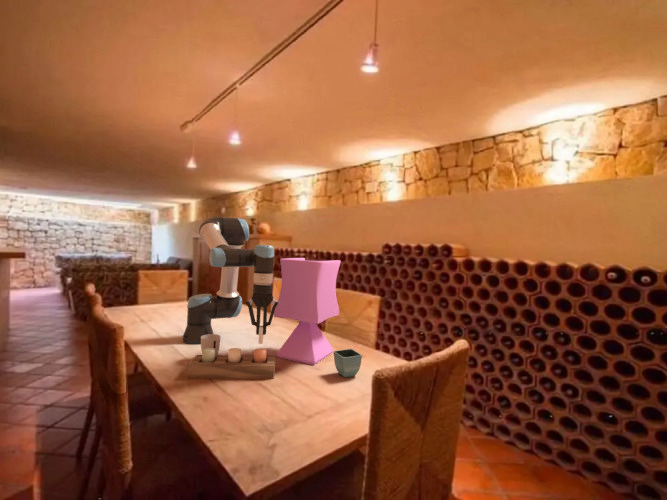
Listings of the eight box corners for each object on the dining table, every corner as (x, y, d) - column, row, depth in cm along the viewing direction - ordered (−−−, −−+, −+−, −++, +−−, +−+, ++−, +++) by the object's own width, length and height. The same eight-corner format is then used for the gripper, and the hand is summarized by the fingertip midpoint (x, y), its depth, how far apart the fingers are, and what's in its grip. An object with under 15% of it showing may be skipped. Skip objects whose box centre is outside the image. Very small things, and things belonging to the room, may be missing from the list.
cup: (213, 363, 142) (214, 340, 142) (195, 361, 144) (196, 338, 144) (223, 357, 150) (224, 335, 150) (206, 355, 152) (207, 333, 152)
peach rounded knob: (229, 360, 136) (229, 348, 136) (241, 360, 136) (241, 348, 136) (226, 364, 131) (227, 351, 131) (239, 364, 132) (239, 351, 131)
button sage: (203, 360, 135) (204, 347, 135) (215, 360, 135) (216, 347, 135) (200, 364, 130) (200, 351, 130) (212, 364, 130) (213, 351, 130)
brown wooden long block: (196, 366, 138) (197, 354, 138) (275, 367, 141) (276, 355, 141) (186, 378, 126) (187, 365, 126) (273, 378, 129) (274, 365, 129)
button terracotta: (254, 360, 137) (255, 348, 137) (266, 360, 137) (267, 348, 137) (252, 364, 132) (253, 352, 132) (265, 364, 133) (265, 352, 133)
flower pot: (342, 380, 131) (343, 357, 130) (332, 372, 138) (333, 350, 138) (361, 377, 135) (362, 355, 134) (350, 369, 142) (351, 348, 142)
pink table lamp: (337, 352, 164) (341, 260, 163) (315, 366, 144) (320, 261, 143) (297, 345, 174) (301, 257, 173) (272, 357, 153) (276, 258, 153)
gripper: (244, 284, 130) (242, 345, 130) (279, 285, 131) (276, 345, 131) (247, 282, 137) (245, 339, 138) (280, 283, 139) (277, 340, 139)
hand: (260, 342), depth 135 cm, fingers closed
